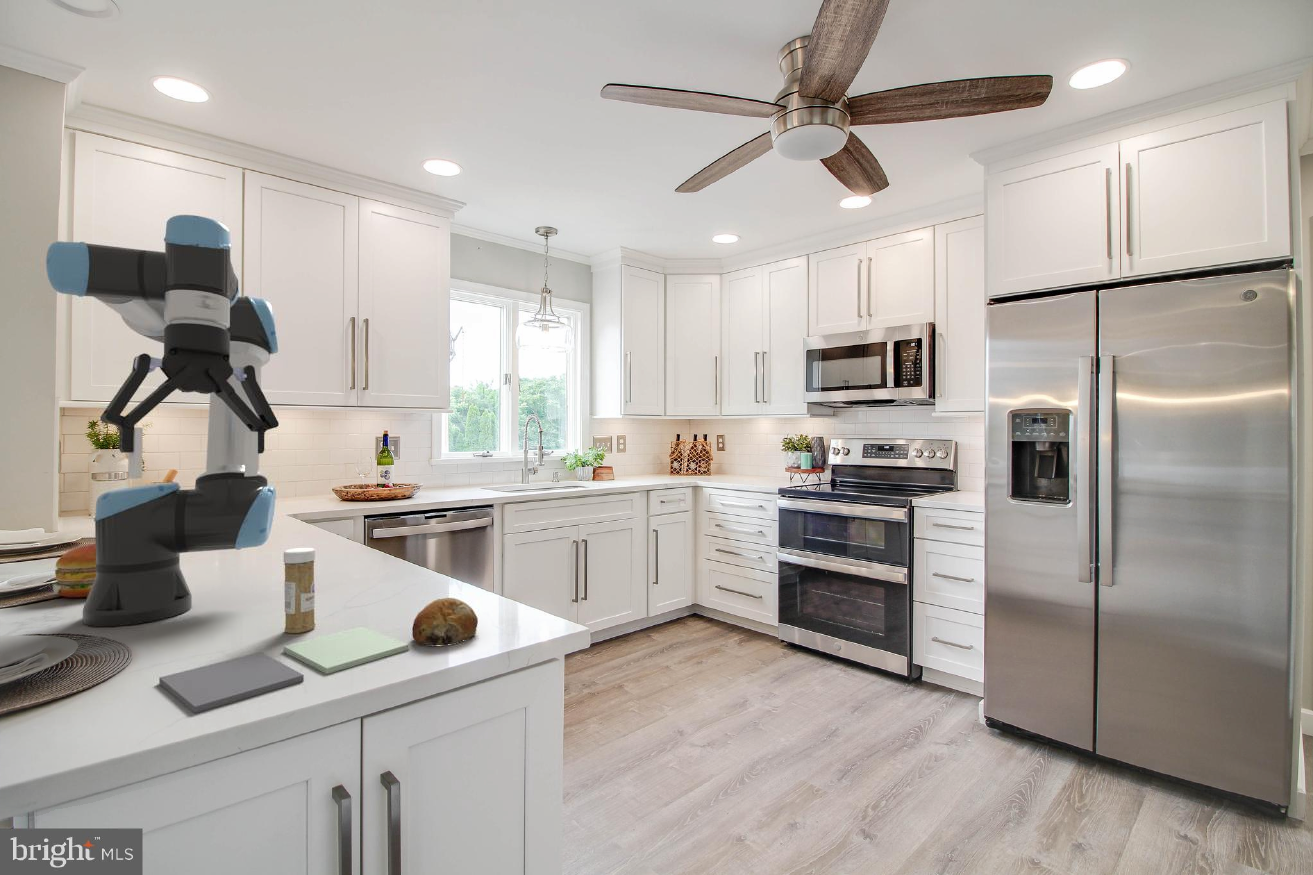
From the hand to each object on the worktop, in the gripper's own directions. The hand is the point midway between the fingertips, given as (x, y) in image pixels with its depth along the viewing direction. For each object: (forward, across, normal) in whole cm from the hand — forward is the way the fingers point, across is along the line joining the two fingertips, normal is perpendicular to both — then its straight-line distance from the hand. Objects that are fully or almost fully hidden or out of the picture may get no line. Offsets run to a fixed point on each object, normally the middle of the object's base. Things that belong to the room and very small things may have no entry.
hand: (196, 477), depth 87 cm
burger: (+22, +4, +66) cm, 70 cm away
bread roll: (+27, +30, -14) cm, 43 cm away
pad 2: (+27, +17, -8) cm, 33 cm away
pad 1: (+27, +2, -7) cm, 28 cm away
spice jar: (+26, +17, +8) cm, 32 cm away
